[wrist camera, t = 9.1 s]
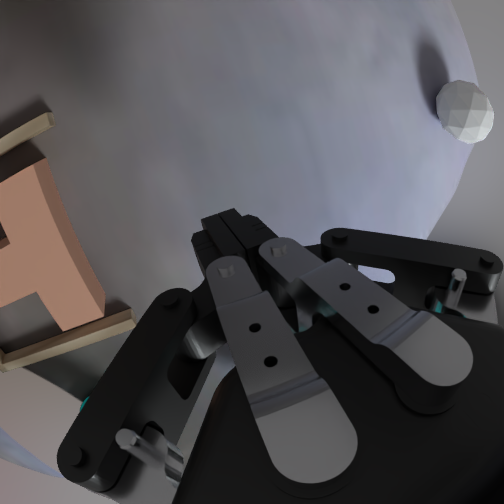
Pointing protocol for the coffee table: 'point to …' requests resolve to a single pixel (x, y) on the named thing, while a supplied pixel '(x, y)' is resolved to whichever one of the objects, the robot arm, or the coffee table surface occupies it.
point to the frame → (76, 336)
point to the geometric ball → (464, 111)
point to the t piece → (44, 250)
